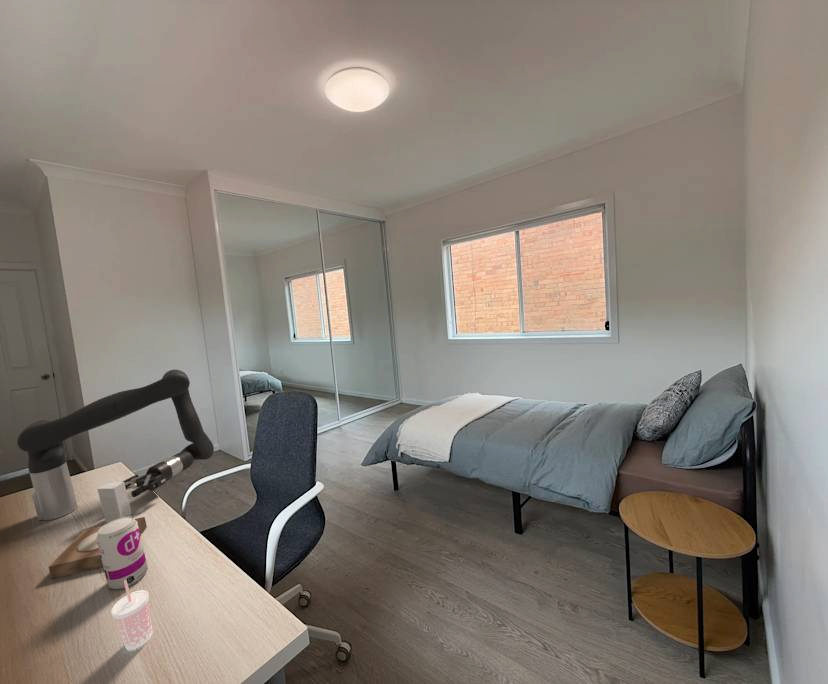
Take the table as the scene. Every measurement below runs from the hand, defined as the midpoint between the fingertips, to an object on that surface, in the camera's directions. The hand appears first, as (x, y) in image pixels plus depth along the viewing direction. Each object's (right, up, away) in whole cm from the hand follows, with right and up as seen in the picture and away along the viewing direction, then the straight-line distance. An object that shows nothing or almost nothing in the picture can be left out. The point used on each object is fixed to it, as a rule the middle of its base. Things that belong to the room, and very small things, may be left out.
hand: (122, 494), depth 125 cm
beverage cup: (+42, -10, -48) cm, 65 cm away
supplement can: (+25, -9, -30) cm, 40 cm away
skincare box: (0, -8, -2) cm, 8 cm away
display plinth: (+9, -9, -18) cm, 22 cm away
